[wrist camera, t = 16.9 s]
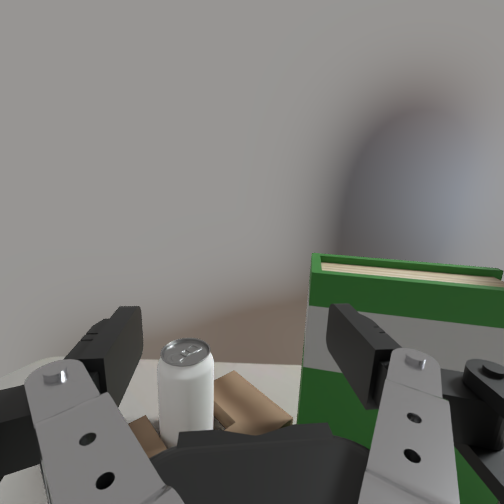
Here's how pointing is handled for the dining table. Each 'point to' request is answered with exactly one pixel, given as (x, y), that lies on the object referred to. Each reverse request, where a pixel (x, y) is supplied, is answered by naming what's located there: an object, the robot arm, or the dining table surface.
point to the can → (185, 388)
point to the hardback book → (399, 334)
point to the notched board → (226, 413)
